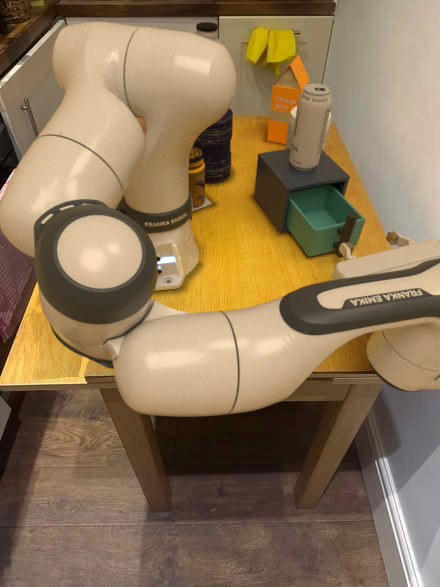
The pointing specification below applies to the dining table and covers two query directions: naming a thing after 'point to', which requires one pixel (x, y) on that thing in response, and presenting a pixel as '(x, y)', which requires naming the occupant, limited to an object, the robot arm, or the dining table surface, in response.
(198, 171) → the condiment
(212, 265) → the dining table surface
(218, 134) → the storage jar
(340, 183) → the small drawer cabinet
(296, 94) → the orange juice
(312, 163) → the energy drink can
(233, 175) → the dining table surface
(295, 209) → the cabinet drawer
